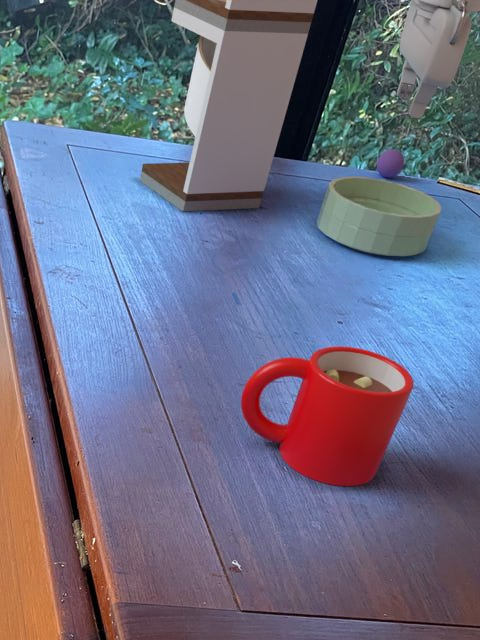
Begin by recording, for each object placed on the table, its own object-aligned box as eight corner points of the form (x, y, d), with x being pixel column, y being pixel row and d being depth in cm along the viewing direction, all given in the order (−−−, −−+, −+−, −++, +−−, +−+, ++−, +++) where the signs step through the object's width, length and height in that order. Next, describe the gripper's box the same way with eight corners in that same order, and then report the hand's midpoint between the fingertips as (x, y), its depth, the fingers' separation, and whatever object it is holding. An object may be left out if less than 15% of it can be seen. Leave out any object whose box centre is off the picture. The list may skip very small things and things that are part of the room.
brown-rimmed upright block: (213, 178, 132) (295, -158, 108) (259, 207, 125) (357, -144, 101) (139, 180, 128) (208, -169, 104) (182, 211, 121) (267, -155, 97)
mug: (231, 415, 84) (257, 327, 79) (373, 444, 83) (409, 357, 78) (226, 462, 78) (254, 371, 73) (379, 494, 77) (419, 404, 72)
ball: (396, 174, 143) (405, 148, 140) (400, 182, 140) (410, 155, 137) (371, 170, 143) (380, 144, 140) (374, 178, 140) (384, 151, 138)
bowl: (414, 228, 126) (430, 187, 123) (433, 267, 116) (451, 224, 113) (310, 211, 126) (323, 169, 123) (321, 249, 116) (335, 205, 113)
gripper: (495, 7, 118) (446, 132, 127) (460, -21, 133) (418, 92, 143) (442, -2, 118) (397, 123, 128) (413, -29, 133) (374, 84, 143)
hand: (408, 107), depth 135 cm, fingers open, 8 cm apart
